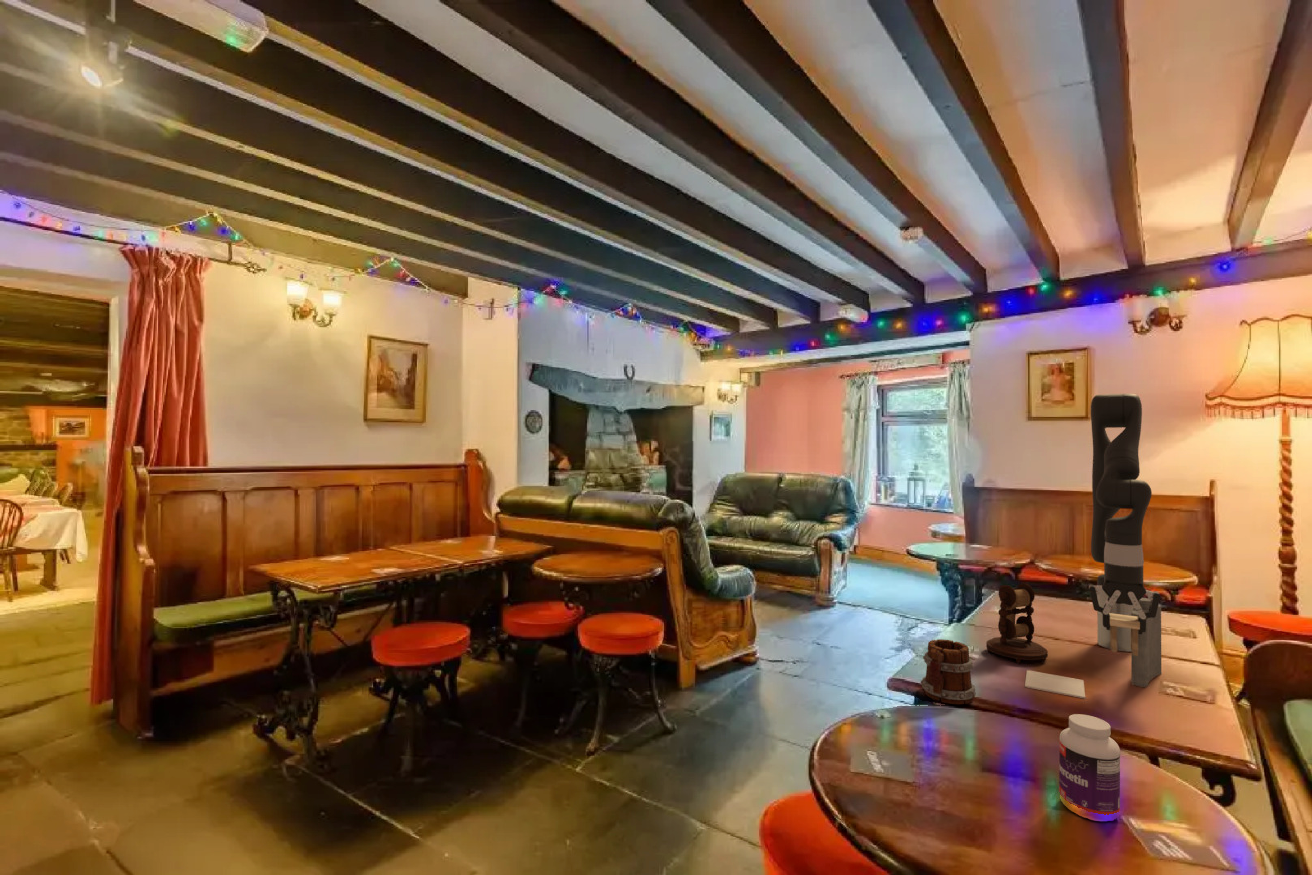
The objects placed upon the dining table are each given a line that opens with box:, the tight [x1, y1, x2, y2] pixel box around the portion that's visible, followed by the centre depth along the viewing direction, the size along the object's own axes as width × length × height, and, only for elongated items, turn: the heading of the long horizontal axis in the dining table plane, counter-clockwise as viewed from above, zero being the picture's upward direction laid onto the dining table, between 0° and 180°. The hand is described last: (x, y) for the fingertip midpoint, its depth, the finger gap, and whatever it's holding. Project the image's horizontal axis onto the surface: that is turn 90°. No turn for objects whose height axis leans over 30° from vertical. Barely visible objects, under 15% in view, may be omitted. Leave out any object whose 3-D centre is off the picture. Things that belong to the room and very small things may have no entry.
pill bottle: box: [1058, 713, 1121, 815], centre depth 98 cm, size 8×8×14 cm
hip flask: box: [1130, 597, 1162, 688], centre depth 154 cm, size 16×4×20 cm, turn 129°
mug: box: [920, 638, 977, 705], centre depth 142 cm, size 12×14×15 cm
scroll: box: [985, 582, 1049, 665], centre depth 169 cm, size 15×15×20 cm
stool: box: [1109, 613, 1140, 656], centre depth 147 cm, size 6×6×8 cm
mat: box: [1024, 669, 1086, 700], centre depth 149 cm, size 12×12×1 cm
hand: (1123, 630), depth 147 cm, fingers closed on stool, 5 cm apart
